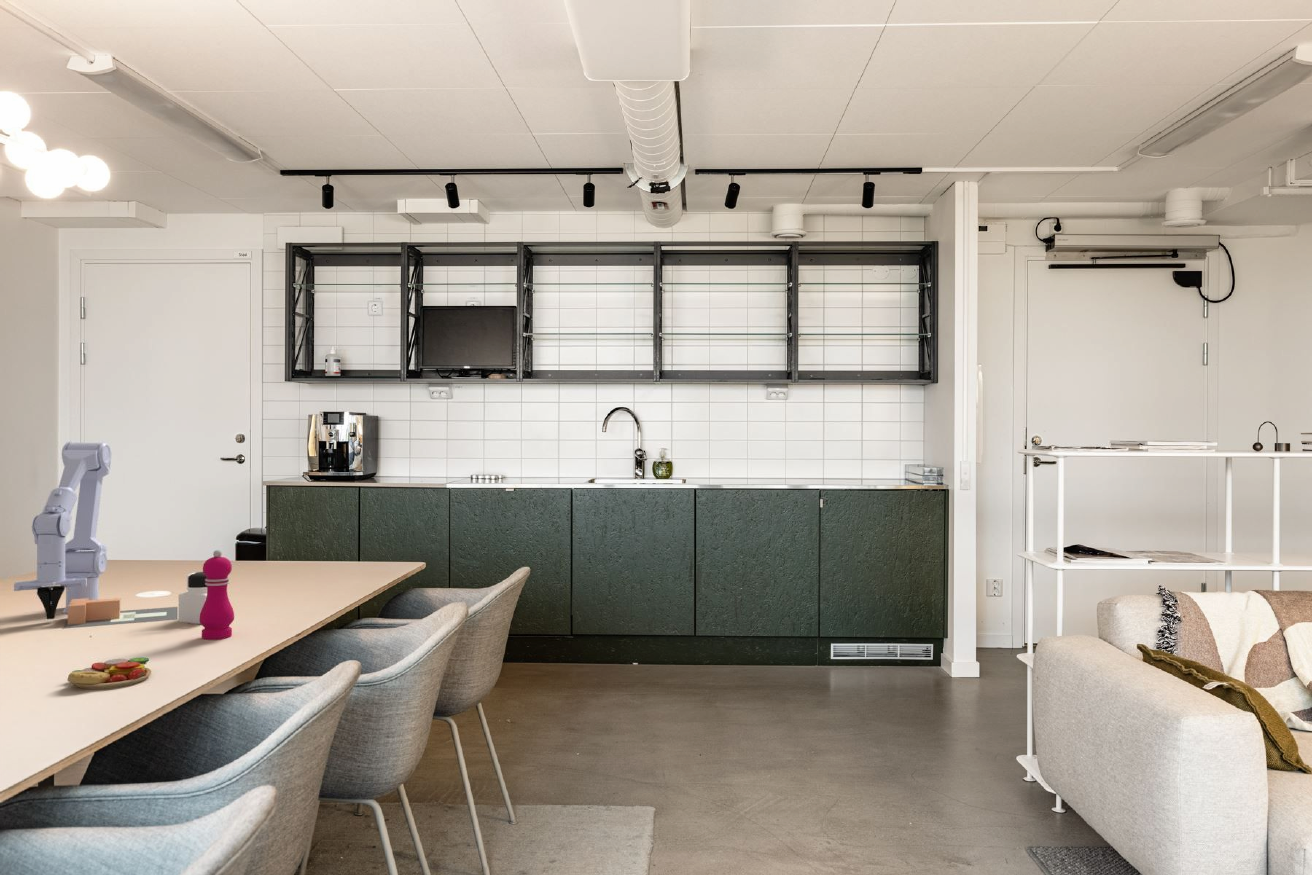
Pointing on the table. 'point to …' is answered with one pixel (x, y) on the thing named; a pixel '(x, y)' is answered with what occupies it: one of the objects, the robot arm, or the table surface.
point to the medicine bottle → (193, 598)
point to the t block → (92, 610)
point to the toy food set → (111, 674)
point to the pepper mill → (216, 599)
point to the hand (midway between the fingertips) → (50, 618)
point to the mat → (133, 617)
